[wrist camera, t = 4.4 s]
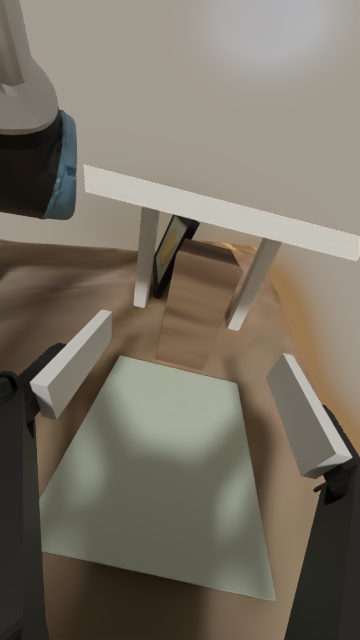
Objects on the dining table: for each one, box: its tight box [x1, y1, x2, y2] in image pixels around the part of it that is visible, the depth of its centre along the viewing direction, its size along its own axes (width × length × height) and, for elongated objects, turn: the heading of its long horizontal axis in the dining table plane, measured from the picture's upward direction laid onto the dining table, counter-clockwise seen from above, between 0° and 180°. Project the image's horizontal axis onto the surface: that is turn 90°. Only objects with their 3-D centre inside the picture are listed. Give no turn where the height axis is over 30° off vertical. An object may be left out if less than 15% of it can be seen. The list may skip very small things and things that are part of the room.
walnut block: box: [156, 238, 243, 370], centre depth 23 cm, size 9×6×13 cm, turn 174°
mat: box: [39, 355, 276, 600], centre depth 16 cm, size 14×14×1 cm
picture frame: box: [153, 214, 200, 299], centre depth 43 cm, size 23×9×15 cm, turn 8°
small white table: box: [84, 165, 360, 331], centre depth 23 cm, size 14×20×18 cm
